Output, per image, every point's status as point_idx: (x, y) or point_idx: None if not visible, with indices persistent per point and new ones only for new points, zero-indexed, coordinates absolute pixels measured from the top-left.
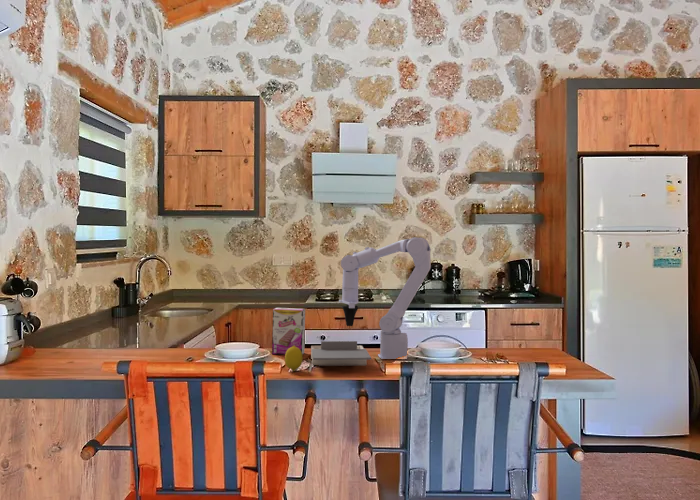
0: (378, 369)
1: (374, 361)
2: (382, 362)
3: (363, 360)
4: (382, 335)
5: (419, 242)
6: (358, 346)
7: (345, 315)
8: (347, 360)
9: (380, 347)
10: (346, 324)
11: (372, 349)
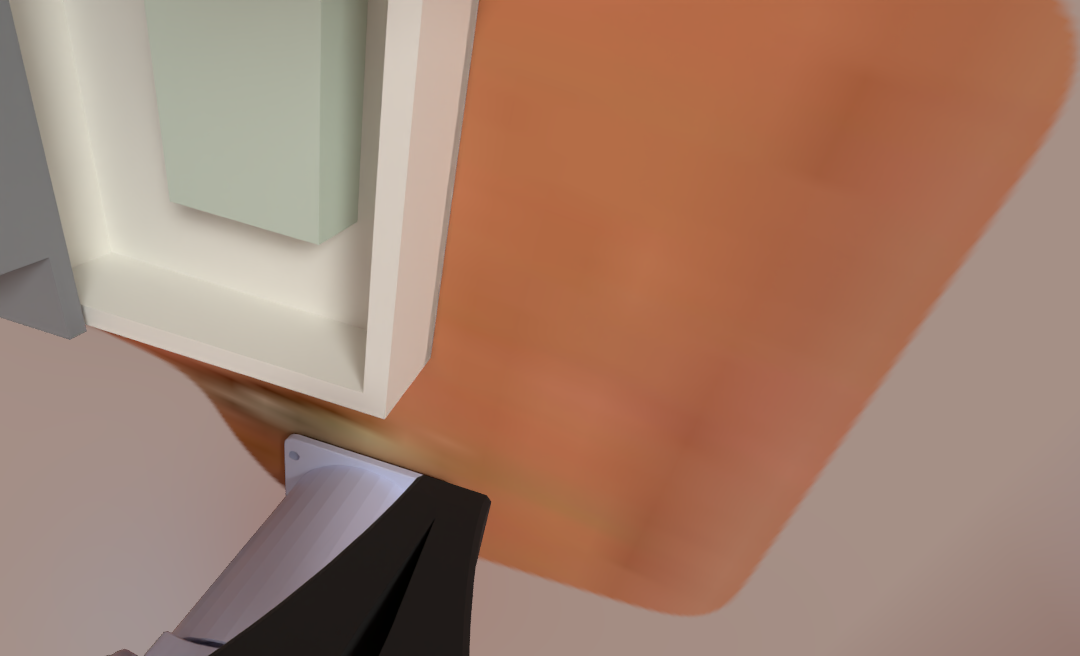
0: None
1: None
2: (226, 406)
3: None
4: (212, 620)
5: None
6: (365, 377)
7: (217, 651)
8: None
9: (340, 525)
10: (412, 491)
11: (721, 560)
